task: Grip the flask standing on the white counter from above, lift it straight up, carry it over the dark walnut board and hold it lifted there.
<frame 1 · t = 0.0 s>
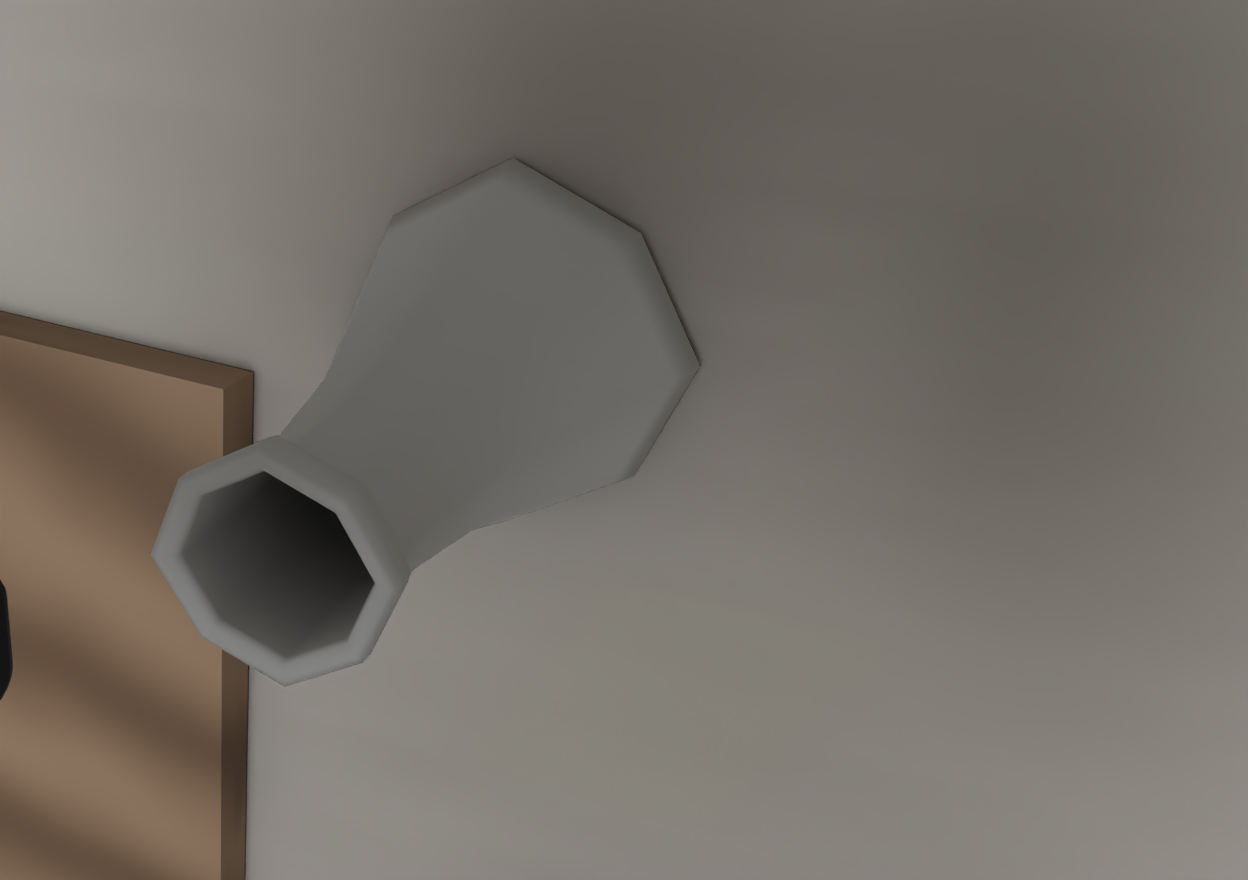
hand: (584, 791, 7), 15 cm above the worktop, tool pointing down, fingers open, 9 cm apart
flask: (522, 342, 22), on the worktop
walnut board: (41, 637, 28), on the worktop
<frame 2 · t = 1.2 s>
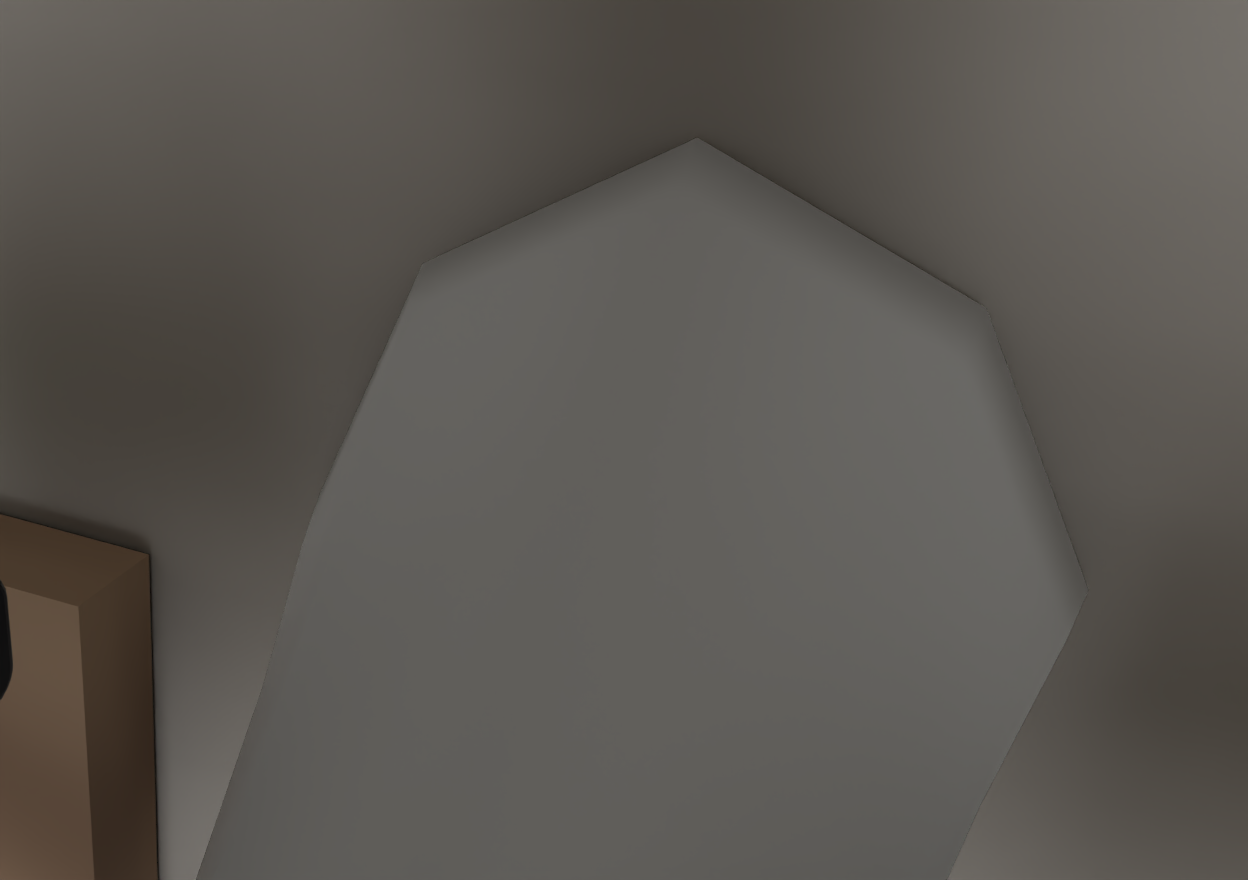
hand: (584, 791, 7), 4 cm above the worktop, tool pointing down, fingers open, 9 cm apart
flask: (685, 517, 11), on the worktop
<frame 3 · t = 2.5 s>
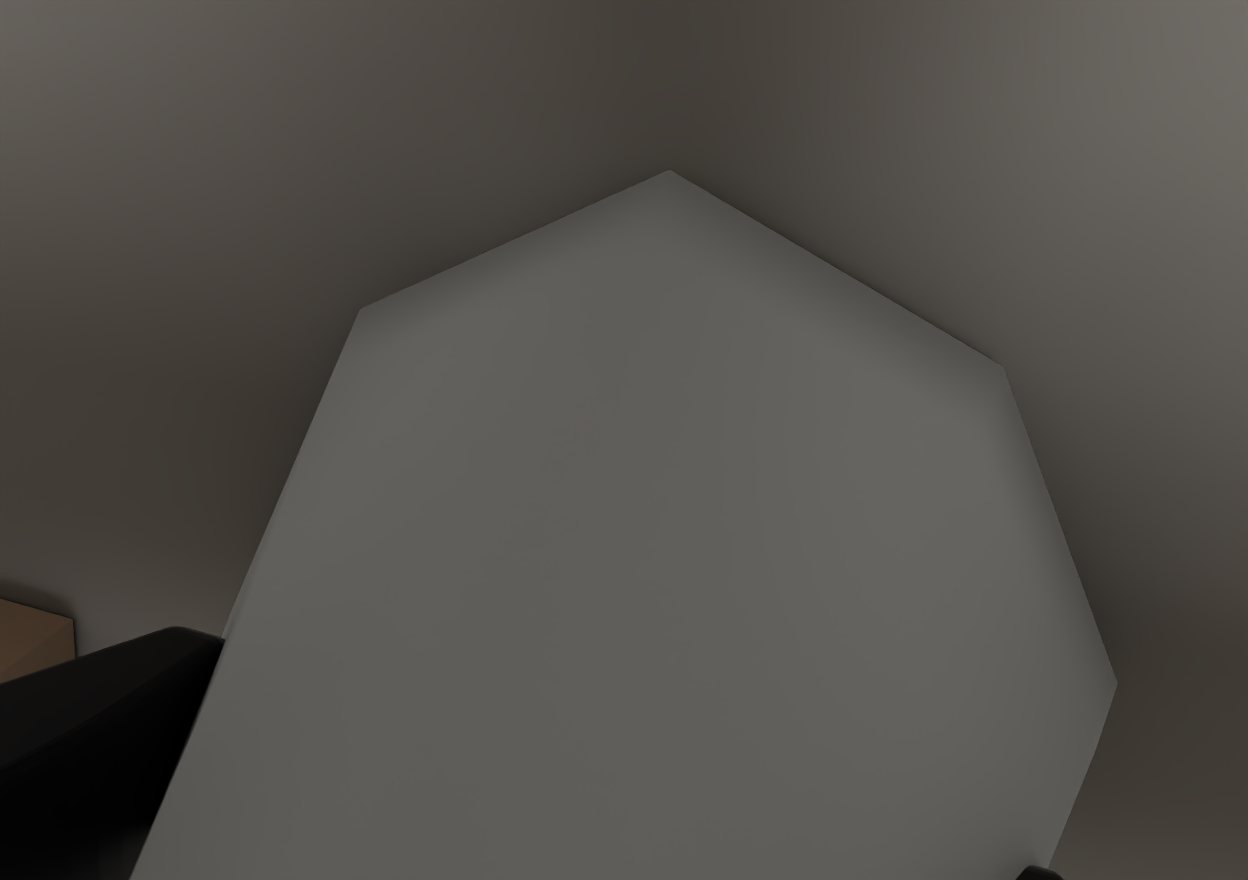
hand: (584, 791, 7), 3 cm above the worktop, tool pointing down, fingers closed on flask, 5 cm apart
flask: (661, 590, 10), on the worktop, touching gripper
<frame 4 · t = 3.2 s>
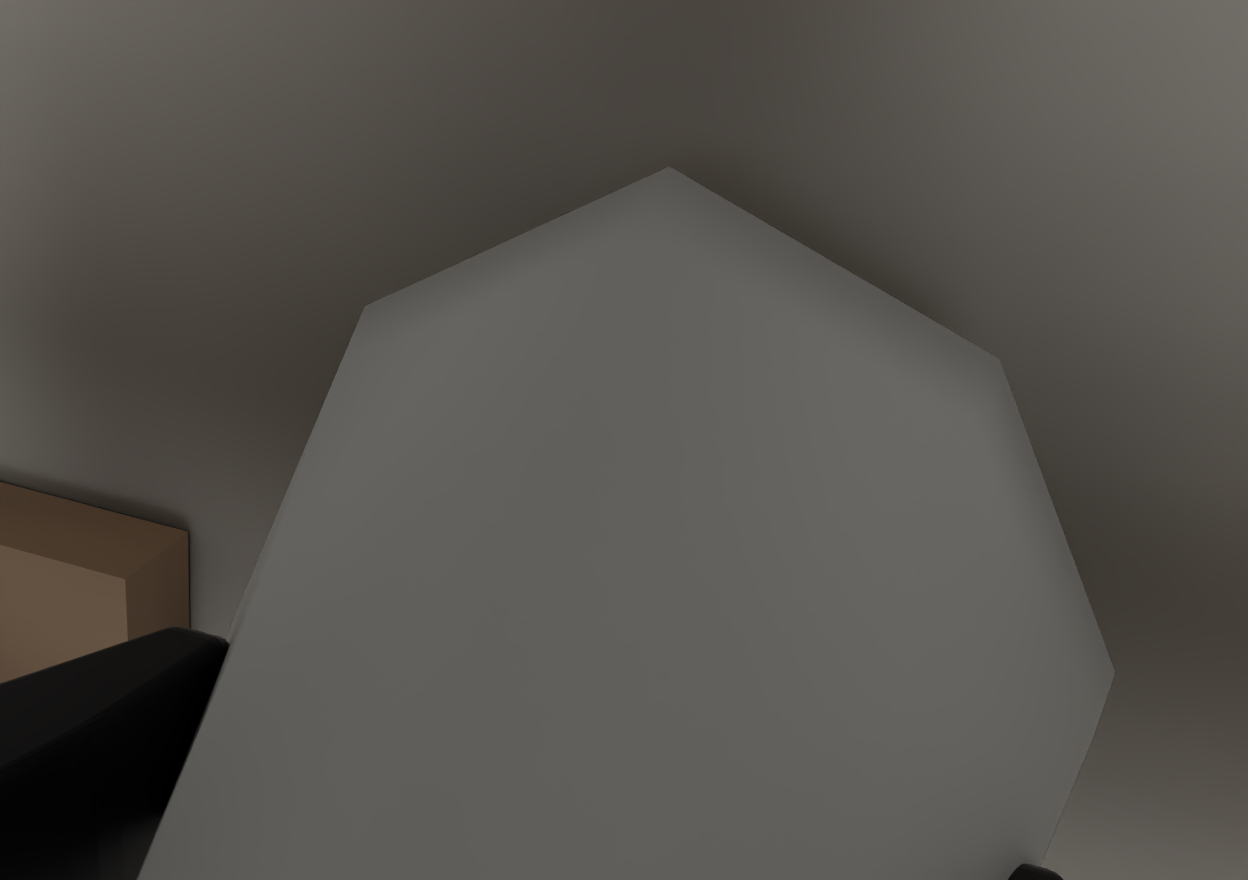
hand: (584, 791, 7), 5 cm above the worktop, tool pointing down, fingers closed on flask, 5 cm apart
flask: (663, 583, 10), point 2 cm above the worktop, touching gripper
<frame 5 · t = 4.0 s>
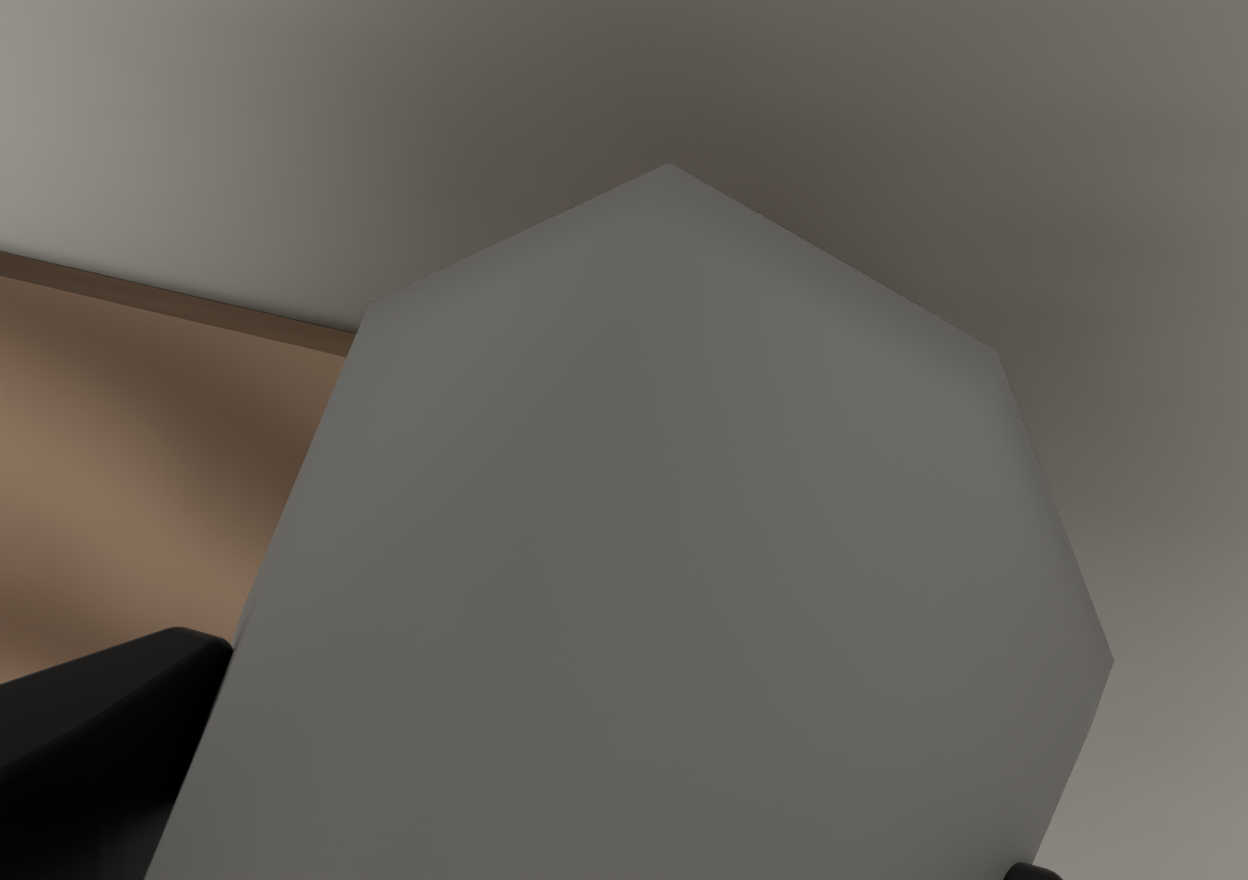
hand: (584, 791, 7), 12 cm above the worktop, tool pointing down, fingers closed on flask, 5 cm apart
flask: (666, 576, 10), point 9 cm above the worktop, touching gripper
walnut board: (152, 661, 25), on the worktop
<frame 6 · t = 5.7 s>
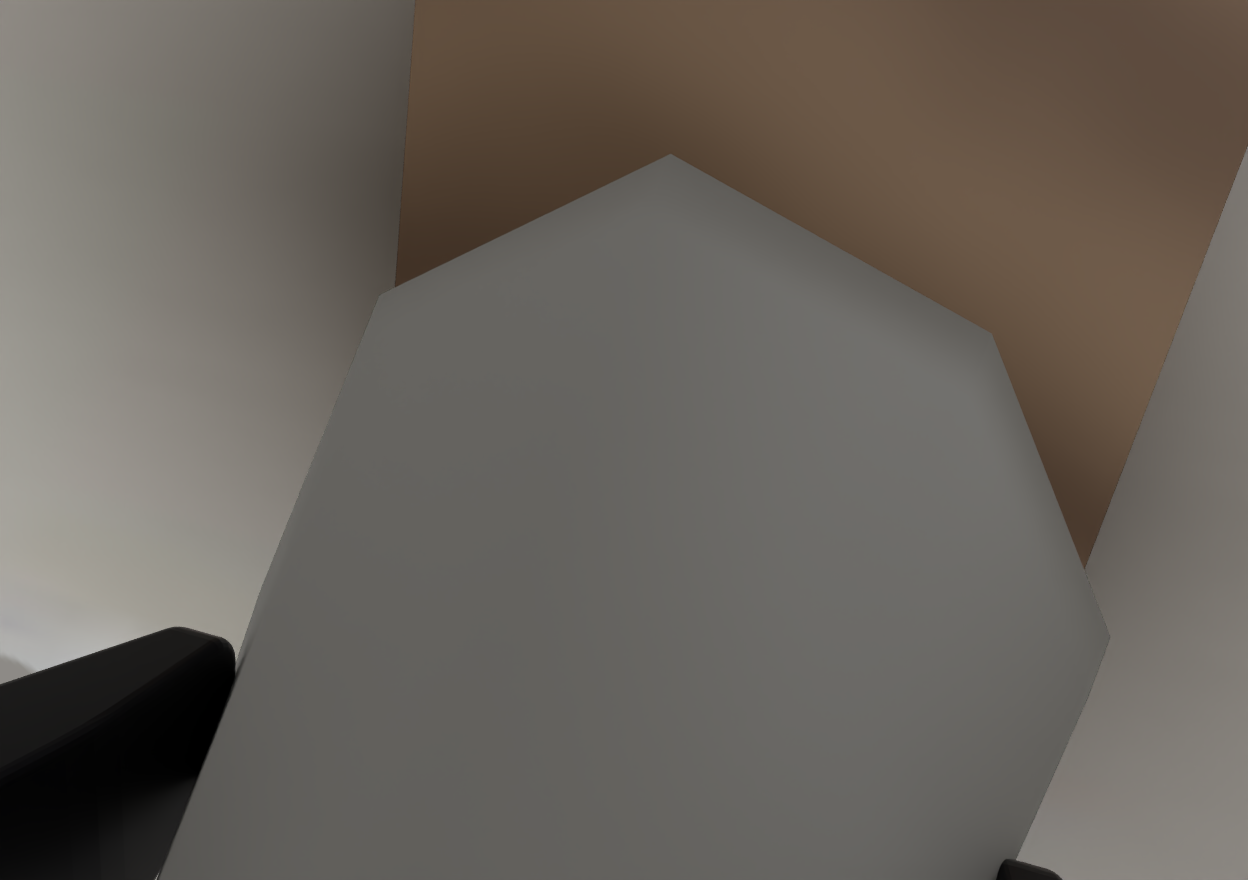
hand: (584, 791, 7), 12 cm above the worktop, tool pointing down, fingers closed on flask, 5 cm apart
flask: (671, 560, 10), point 9 cm above the worktop, touching gripper
walnut board: (746, 373, 18), on the worktop
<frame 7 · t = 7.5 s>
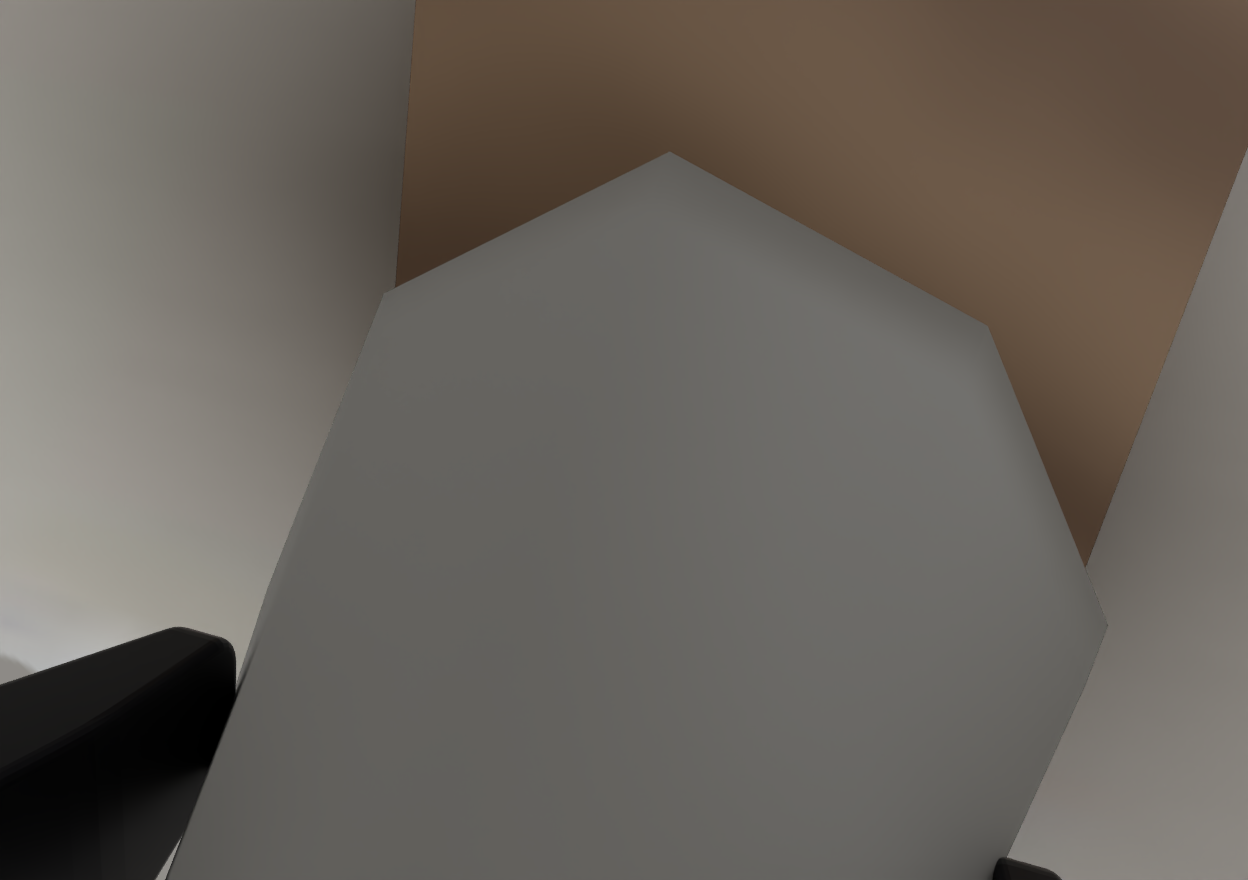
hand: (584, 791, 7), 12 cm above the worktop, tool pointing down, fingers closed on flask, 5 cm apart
flask: (674, 554, 10), point 9 cm above the worktop, touching gripper
walnut board: (746, 373, 18), on the worktop
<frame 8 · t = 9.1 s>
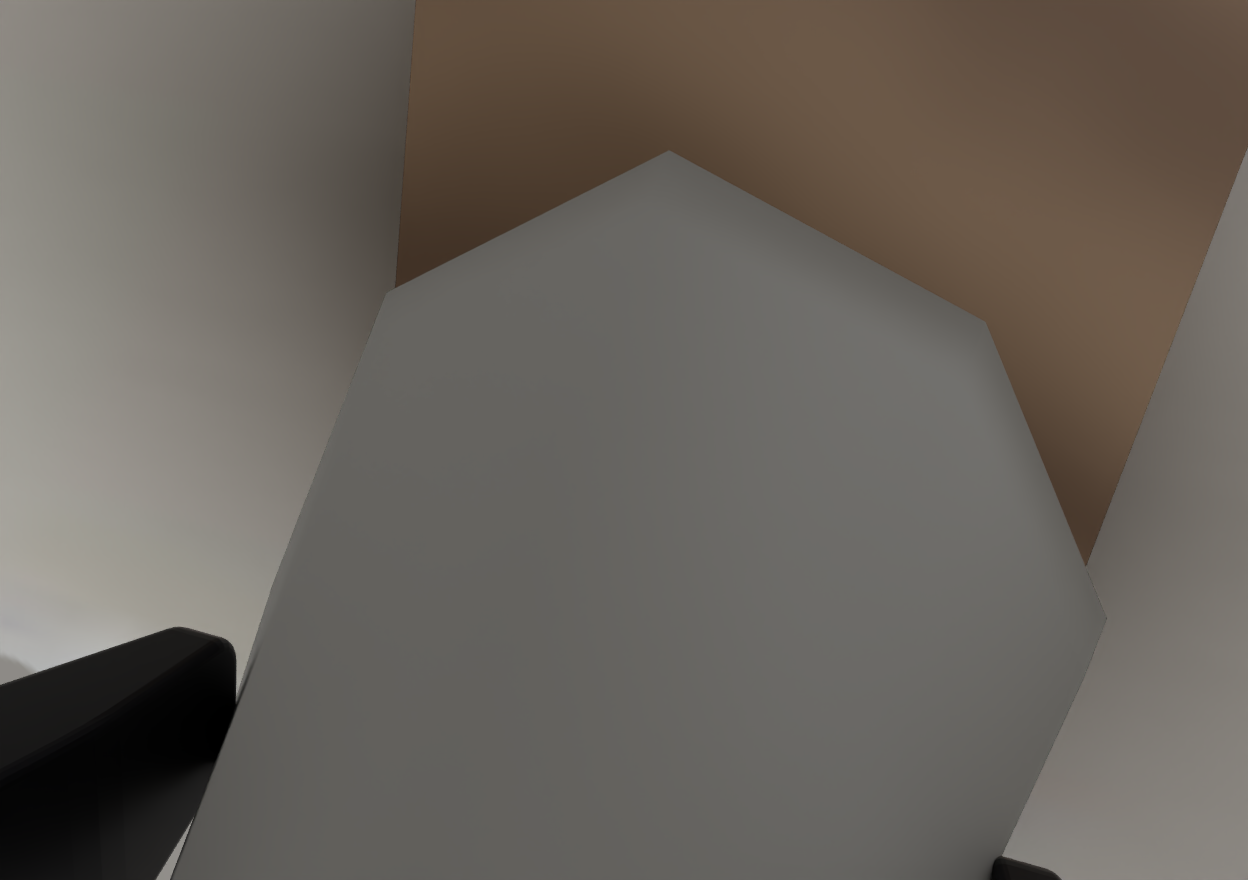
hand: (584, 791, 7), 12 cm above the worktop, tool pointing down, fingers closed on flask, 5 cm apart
flask: (675, 550, 10), point 8 cm above the worktop, touching gripper
walnut board: (746, 373, 18), on the worktop
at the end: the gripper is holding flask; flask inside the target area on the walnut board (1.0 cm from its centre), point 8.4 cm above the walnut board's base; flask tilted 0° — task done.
